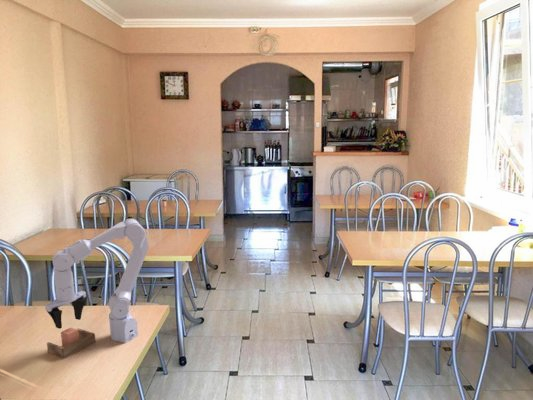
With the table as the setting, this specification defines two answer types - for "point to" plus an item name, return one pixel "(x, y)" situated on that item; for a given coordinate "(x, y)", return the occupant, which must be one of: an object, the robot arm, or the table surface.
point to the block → (69, 336)
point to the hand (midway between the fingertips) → (68, 323)
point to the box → (72, 345)
